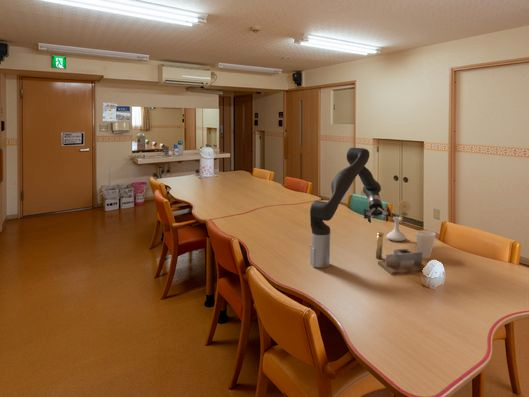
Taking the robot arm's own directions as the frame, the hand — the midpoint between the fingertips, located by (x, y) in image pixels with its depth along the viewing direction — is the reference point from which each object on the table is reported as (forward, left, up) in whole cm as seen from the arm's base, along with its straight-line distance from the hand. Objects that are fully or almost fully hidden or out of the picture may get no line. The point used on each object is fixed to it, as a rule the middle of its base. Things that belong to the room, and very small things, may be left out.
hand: (378, 220), depth 196 cm
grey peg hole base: (+4, -19, -19) cm, 28 cm away
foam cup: (+23, -7, -19) cm, 31 cm away
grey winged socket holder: (+4, -19, -18) cm, 27 cm away
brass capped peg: (-2, -5, -19) cm, 20 cm away
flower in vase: (+23, +21, -19) cm, 37 cm away
